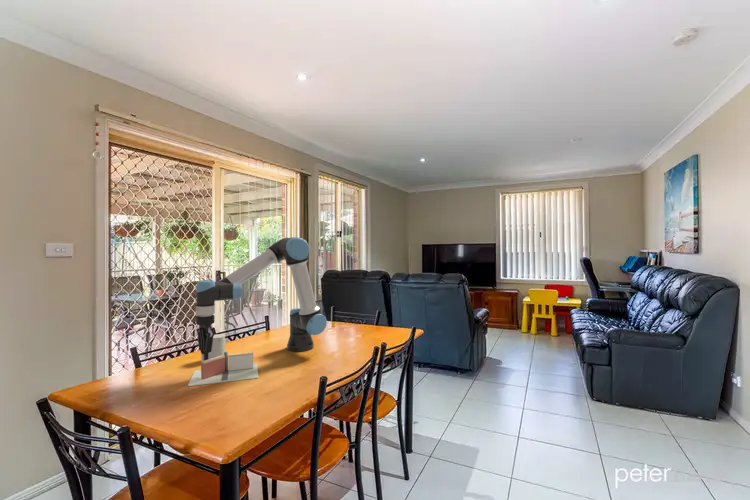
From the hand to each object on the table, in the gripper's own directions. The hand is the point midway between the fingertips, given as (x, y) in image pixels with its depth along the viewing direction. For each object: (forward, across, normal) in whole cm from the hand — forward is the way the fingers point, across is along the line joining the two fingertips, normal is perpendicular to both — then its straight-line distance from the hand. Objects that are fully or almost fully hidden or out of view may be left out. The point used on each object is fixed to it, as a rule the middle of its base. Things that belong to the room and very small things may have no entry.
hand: (204, 367), depth 158 cm
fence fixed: (+4, +4, +14) cm, 15 cm away
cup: (+5, -21, +15) cm, 26 cm away
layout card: (+4, +5, +7) cm, 10 cm away
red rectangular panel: (+4, +2, +3) cm, 5 cm away
